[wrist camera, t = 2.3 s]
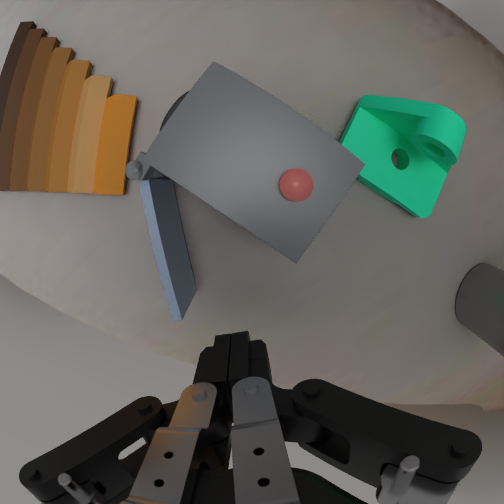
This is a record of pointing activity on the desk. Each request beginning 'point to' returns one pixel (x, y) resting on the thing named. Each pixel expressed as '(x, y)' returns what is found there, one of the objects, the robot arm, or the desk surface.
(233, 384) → the robot arm
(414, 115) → the camera mount
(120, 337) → the desk surface
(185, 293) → the door
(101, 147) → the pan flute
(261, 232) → the housing
